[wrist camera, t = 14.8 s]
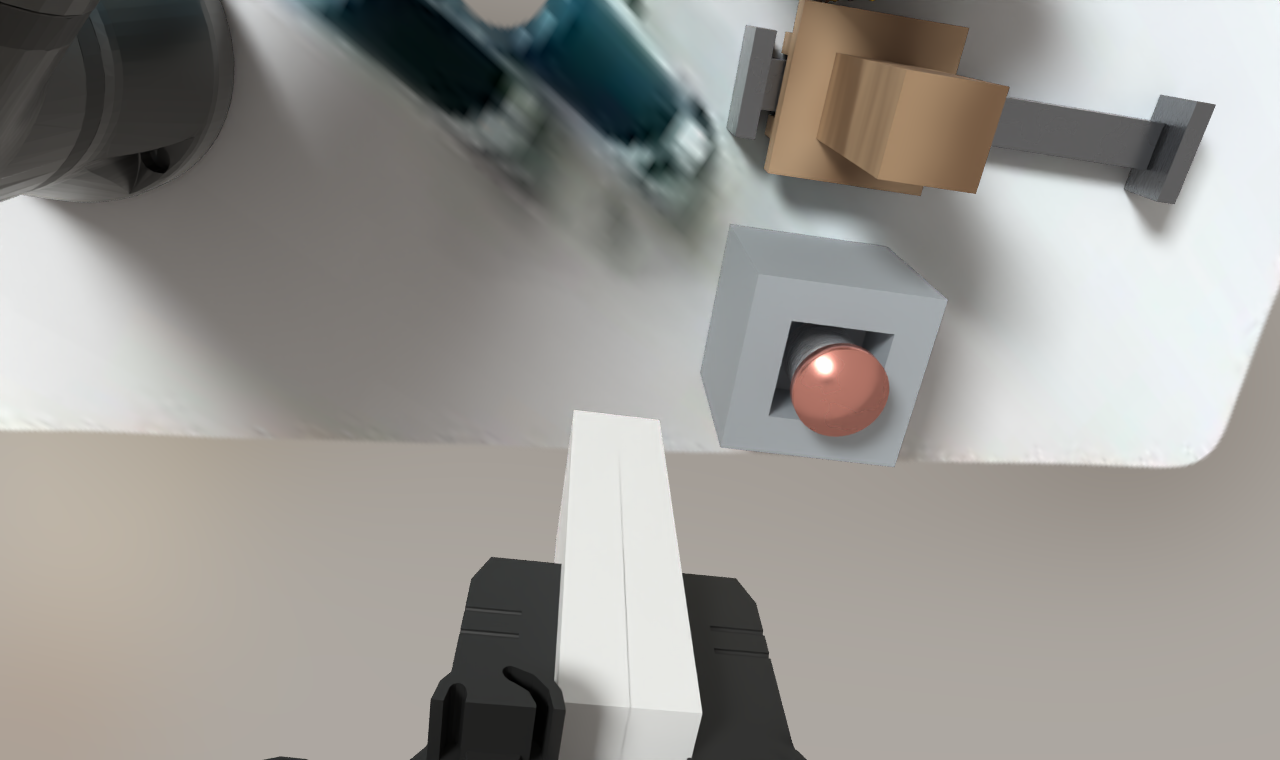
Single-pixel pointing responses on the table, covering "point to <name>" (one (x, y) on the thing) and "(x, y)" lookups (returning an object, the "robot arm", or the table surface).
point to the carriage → (880, 103)
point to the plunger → (833, 380)
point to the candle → (831, 0)
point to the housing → (819, 294)
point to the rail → (1025, 125)
